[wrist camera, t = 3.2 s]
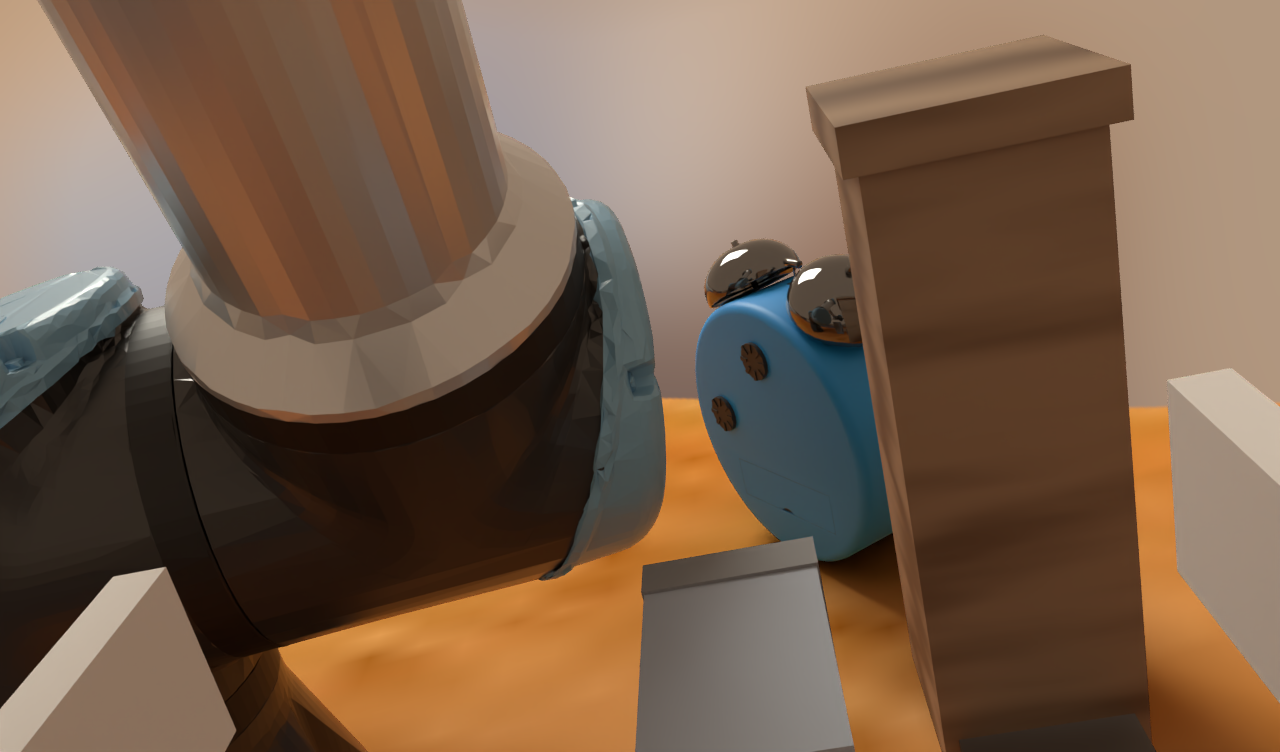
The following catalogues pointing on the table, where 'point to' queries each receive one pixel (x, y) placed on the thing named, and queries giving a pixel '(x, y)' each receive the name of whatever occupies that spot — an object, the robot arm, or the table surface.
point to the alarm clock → (792, 397)
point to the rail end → (739, 655)
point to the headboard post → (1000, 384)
